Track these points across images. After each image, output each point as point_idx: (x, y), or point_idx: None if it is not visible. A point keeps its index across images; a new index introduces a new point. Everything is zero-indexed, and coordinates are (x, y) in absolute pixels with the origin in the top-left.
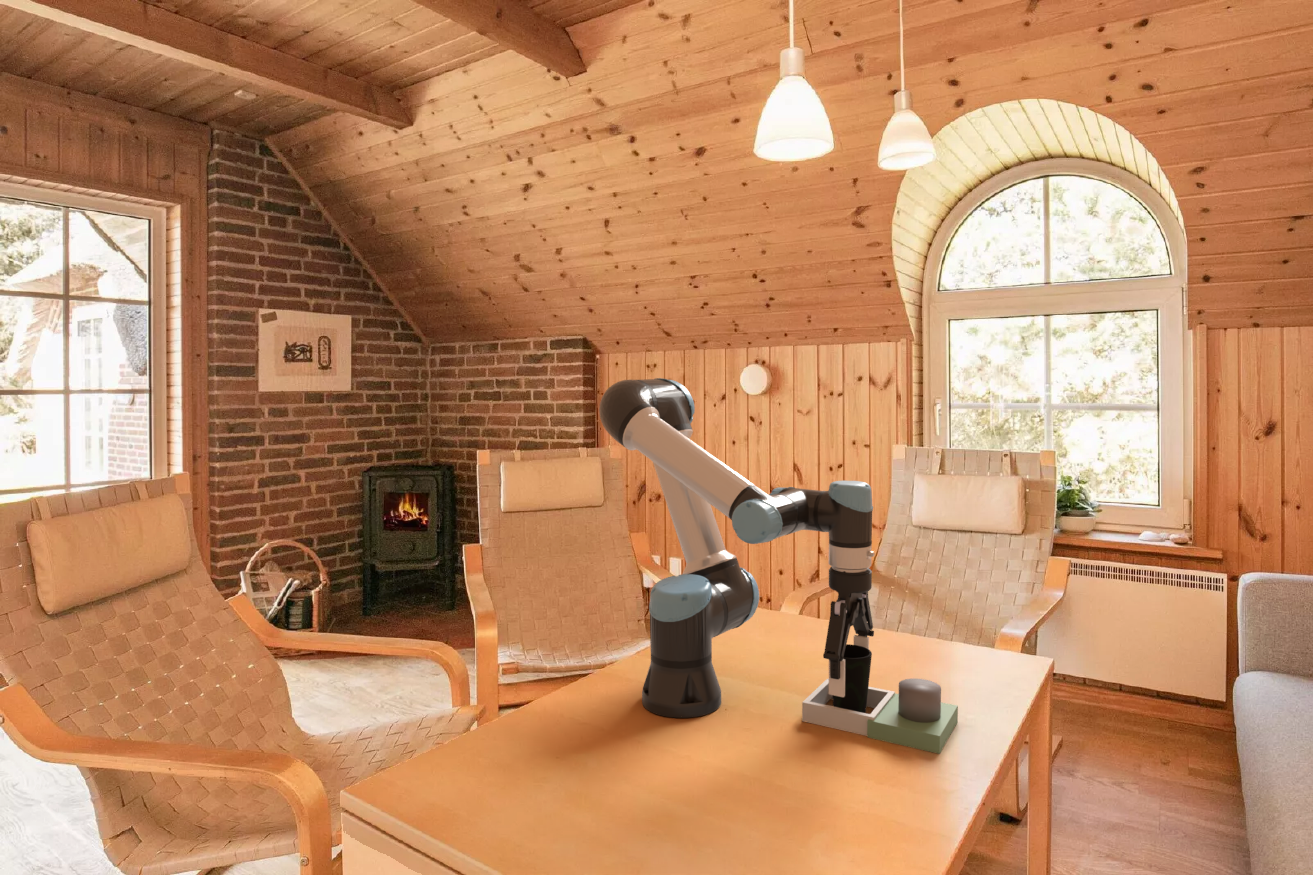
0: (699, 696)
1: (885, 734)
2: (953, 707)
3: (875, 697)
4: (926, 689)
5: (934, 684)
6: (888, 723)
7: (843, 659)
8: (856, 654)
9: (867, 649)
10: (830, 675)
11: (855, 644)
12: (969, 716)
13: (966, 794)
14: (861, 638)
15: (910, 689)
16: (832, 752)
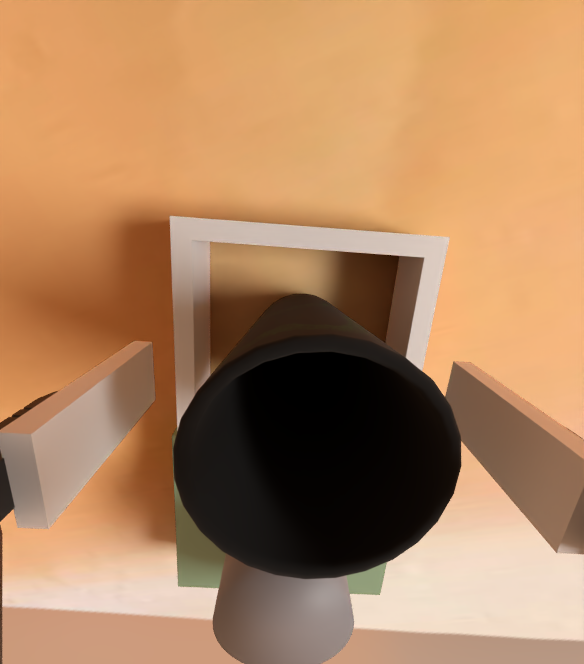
0: None
1: None
2: (364, 588)
3: None
4: (262, 643)
5: (320, 653)
6: None
7: (42, 519)
8: (415, 449)
9: (397, 548)
10: (38, 400)
11: (537, 438)
12: (410, 567)
13: (58, 597)
14: (564, 508)
15: (237, 609)
16: (56, 354)
